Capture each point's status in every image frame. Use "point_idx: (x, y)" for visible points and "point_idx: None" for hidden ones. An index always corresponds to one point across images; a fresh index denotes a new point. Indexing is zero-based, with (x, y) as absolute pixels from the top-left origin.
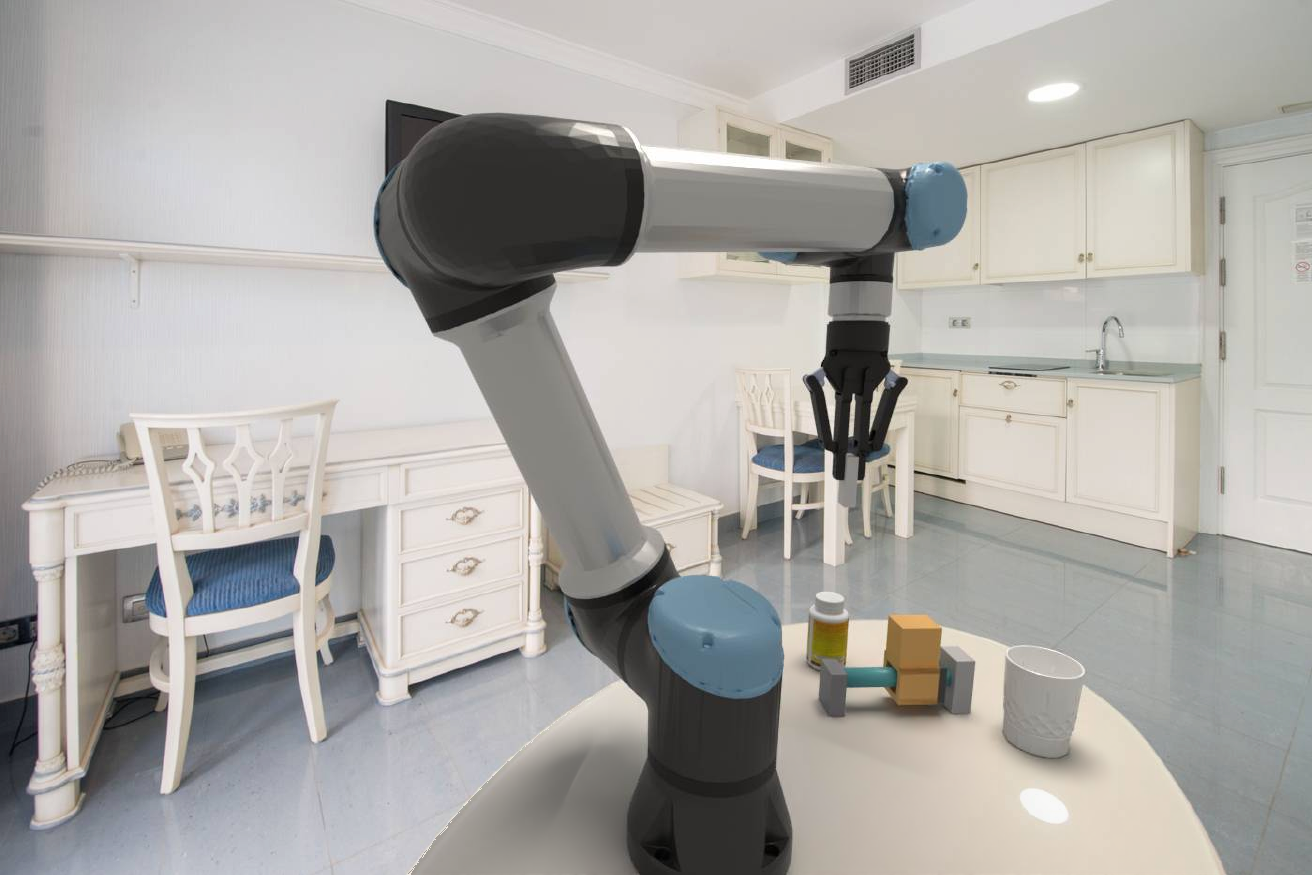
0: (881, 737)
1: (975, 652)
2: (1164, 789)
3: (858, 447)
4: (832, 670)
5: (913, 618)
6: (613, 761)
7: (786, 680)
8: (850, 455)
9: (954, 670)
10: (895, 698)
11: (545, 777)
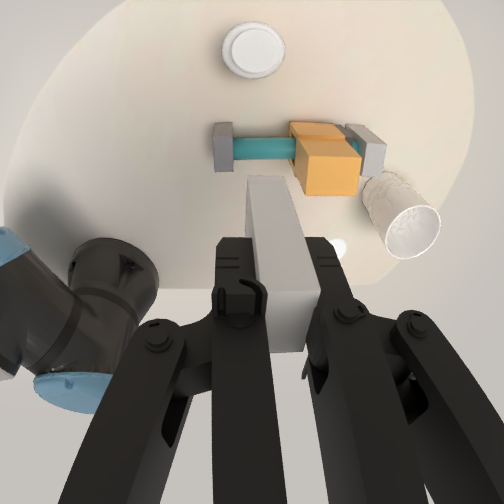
0: None
1: (439, 51)
2: None
3: (309, 381)
4: (218, 163)
5: (337, 168)
6: (47, 219)
7: (187, 86)
8: (286, 328)
9: None
10: None
11: (19, 234)
